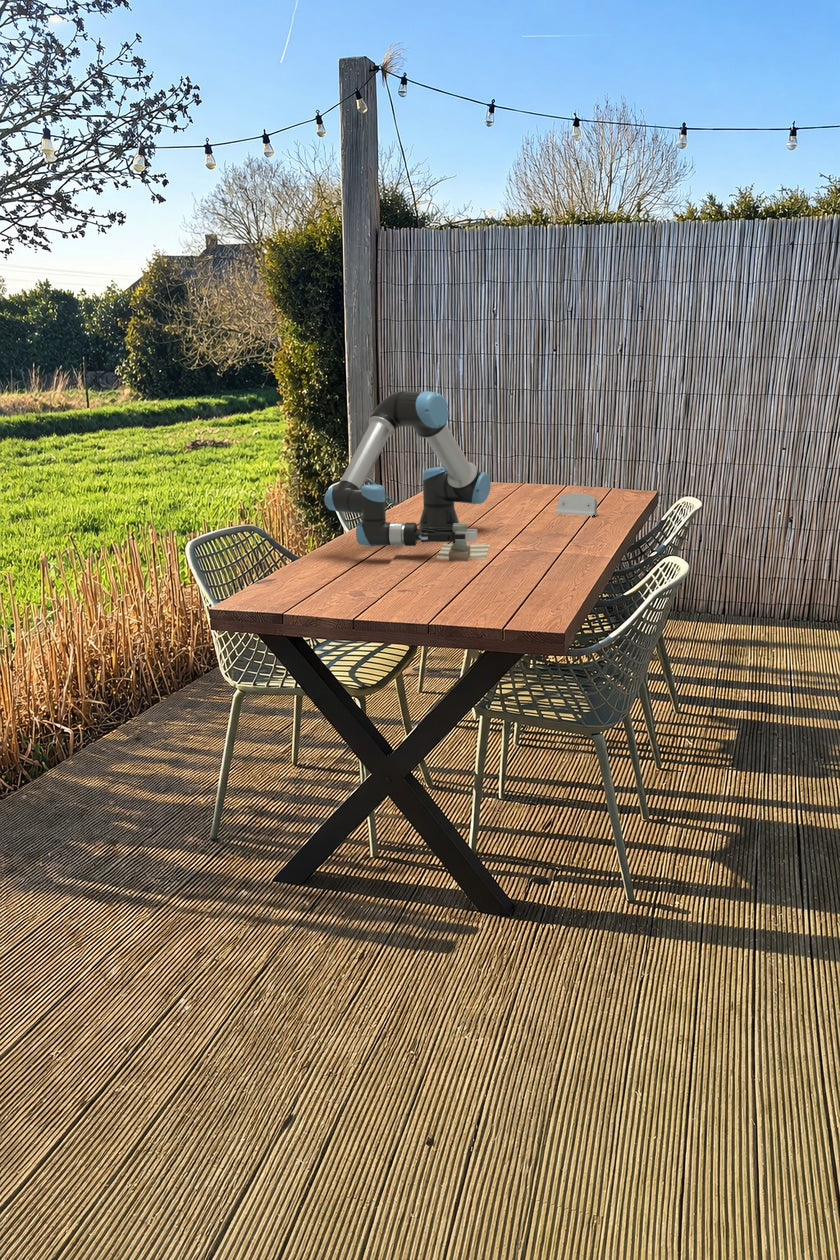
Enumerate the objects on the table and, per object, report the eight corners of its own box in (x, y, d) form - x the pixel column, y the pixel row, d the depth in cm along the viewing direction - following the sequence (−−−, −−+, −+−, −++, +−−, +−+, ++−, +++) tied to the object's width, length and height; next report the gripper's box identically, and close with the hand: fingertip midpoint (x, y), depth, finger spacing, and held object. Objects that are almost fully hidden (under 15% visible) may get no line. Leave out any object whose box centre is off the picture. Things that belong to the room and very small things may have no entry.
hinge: (553, 515, 394) (557, 490, 394) (557, 517, 398) (561, 493, 398) (593, 518, 386) (596, 493, 386) (596, 520, 390) (600, 495, 390)
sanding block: (452, 552, 320) (451, 521, 317) (470, 553, 320) (470, 521, 316) (448, 560, 311) (448, 528, 307) (467, 561, 310) (467, 528, 307)
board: (443, 548, 336) (443, 544, 336) (490, 548, 334) (490, 544, 333) (435, 562, 315) (435, 558, 315) (485, 563, 313) (485, 558, 313)
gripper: (408, 540, 324) (478, 540, 321) (400, 551, 308) (474, 552, 305) (408, 517, 322) (478, 518, 319) (399, 527, 306) (474, 528, 303)
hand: (476, 534), depth 312 cm, fingers closed on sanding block, 4 cm apart
